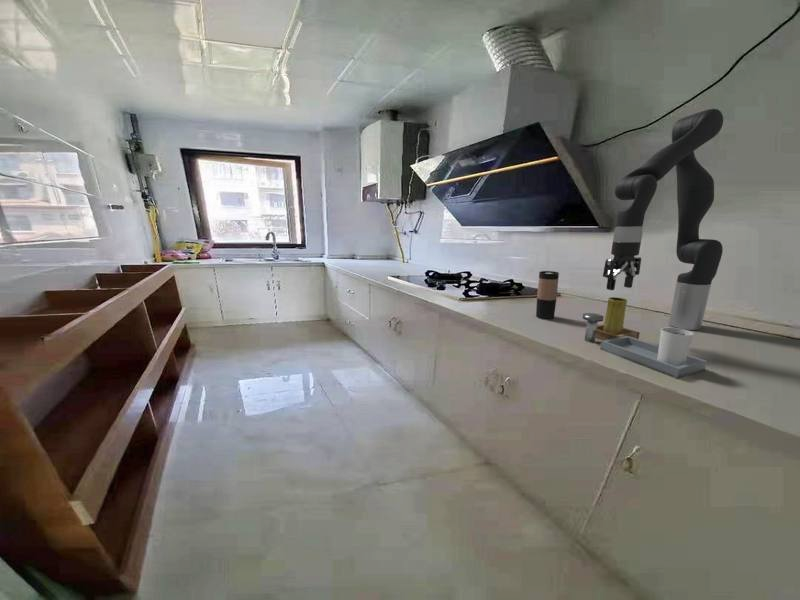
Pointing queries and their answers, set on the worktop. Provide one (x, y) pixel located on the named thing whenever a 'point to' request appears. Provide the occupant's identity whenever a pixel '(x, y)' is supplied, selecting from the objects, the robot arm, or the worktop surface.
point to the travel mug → (547, 294)
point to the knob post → (591, 325)
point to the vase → (615, 315)
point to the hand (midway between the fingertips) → (619, 288)
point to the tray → (650, 356)
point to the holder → (606, 336)
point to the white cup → (674, 345)
